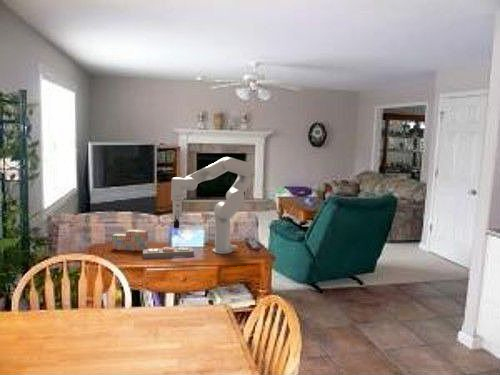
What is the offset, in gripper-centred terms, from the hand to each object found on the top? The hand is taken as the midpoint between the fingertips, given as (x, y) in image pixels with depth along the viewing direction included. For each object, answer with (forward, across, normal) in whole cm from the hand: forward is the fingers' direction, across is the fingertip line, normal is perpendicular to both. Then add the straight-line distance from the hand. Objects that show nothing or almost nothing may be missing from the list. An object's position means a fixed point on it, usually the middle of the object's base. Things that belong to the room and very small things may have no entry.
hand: (176, 227), depth 269 cm
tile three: (+15, 0, +4) cm, 16 cm away
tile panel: (+17, 0, +4) cm, 18 cm away
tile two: (+15, 0, -5) cm, 16 cm away
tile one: (+16, 0, +13) cm, 21 cm away
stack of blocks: (+18, +20, +27) cm, 38 cm away
